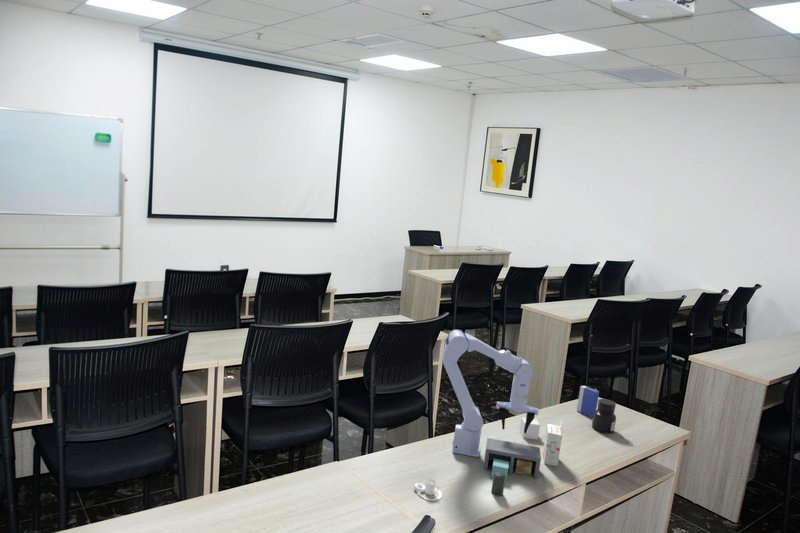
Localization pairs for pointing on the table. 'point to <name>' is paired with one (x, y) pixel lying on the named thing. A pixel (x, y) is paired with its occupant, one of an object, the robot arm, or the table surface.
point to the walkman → (587, 400)
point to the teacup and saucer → (429, 489)
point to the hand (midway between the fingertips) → (514, 430)
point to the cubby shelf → (512, 454)
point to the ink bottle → (604, 416)
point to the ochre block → (523, 466)
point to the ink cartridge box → (552, 444)
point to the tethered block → (499, 476)
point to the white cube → (530, 429)
